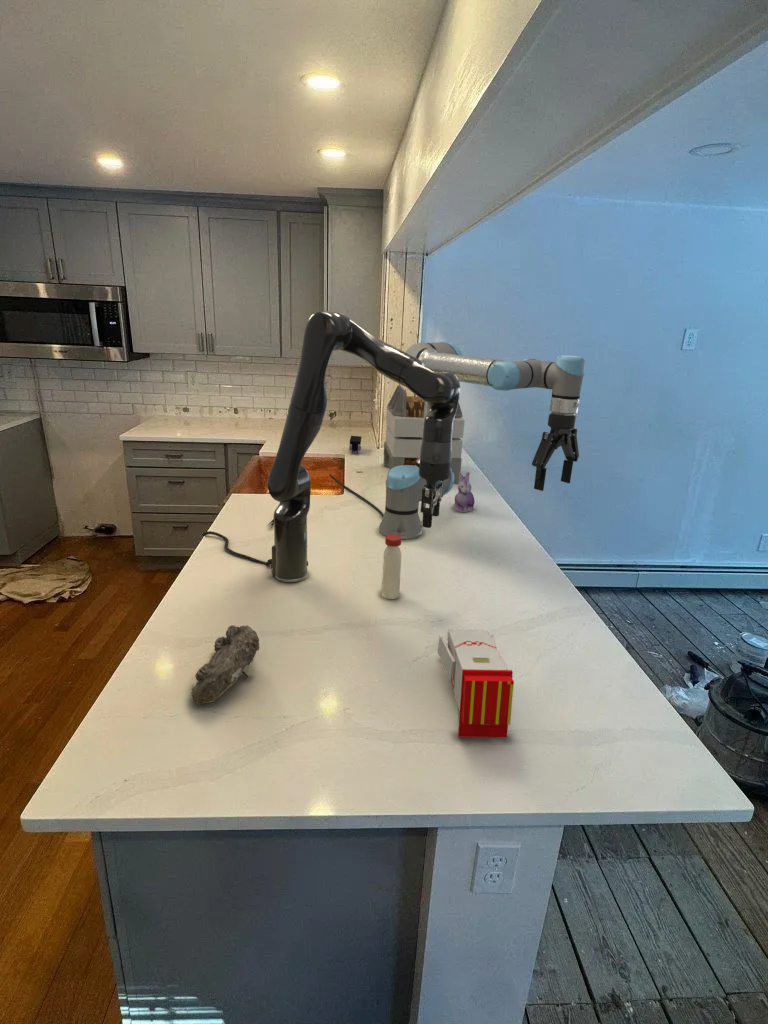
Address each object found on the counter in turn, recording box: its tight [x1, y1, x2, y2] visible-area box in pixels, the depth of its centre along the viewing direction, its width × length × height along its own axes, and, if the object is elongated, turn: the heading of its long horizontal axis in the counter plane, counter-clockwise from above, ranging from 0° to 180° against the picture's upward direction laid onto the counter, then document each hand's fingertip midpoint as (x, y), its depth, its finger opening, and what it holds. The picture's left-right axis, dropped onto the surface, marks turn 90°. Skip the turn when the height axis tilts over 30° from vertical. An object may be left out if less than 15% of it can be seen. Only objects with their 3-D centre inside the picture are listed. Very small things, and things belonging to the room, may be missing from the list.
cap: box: [384, 534, 402, 547], centre depth 152 cm, size 4×4×2 cm
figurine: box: [453, 471, 476, 513], centre depth 225 cm, size 9×10×15 cm
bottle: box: [381, 545, 403, 600], centre depth 154 cm, size 5×5×17 cm
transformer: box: [383, 384, 465, 484], centre depth 268 cm, size 34×33×41 cm
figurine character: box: [348, 435, 363, 455], centre depth 309 cm, size 7×8×15 cm
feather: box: [266, 518, 274, 529], centre depth 211 cm, size 2×28×2 cm
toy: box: [437, 628, 515, 738], centre depth 117 cm, size 12×13×30 cm
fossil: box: [191, 624, 260, 705], centre depth 119 cm, size 22×10×15 cm
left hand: (430, 521), depth 141 cm, fingers open, 8 cm apart
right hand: (552, 485), depth 166 cm, fingers open, 13 cm apart
